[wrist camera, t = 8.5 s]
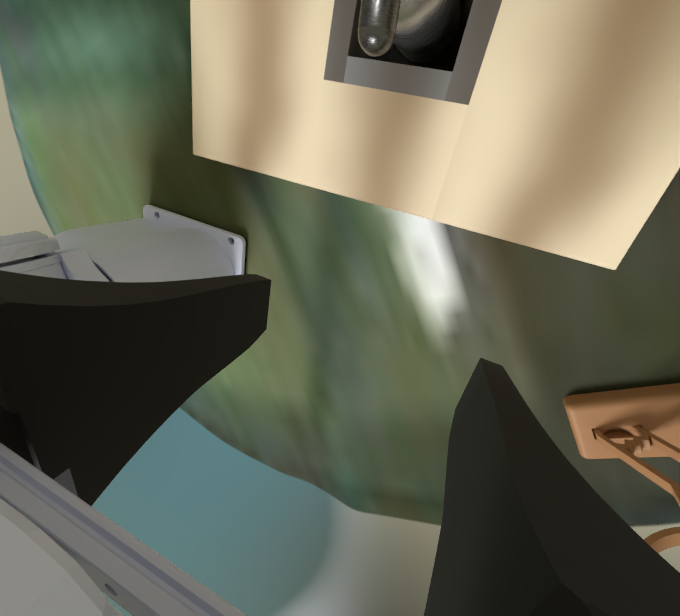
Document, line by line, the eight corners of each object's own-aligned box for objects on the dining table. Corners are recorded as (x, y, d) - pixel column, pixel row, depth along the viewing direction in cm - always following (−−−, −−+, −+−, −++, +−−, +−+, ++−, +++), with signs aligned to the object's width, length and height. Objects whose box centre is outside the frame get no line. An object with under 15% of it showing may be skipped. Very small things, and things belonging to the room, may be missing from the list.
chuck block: (227, 155, 22) (193, 154, 19) (238, -242, 14) (184, -329, 12) (595, 253, 16) (614, 270, 14) (932, -325, 9) (1118, -530, 6)
